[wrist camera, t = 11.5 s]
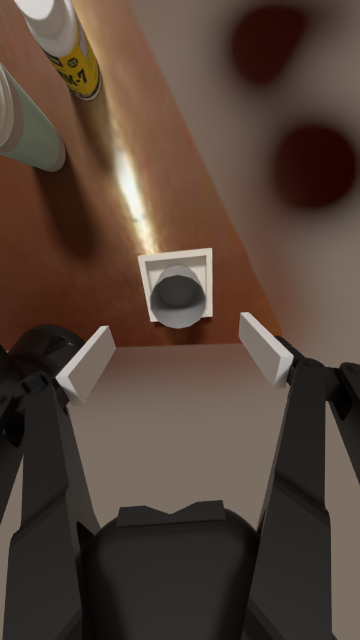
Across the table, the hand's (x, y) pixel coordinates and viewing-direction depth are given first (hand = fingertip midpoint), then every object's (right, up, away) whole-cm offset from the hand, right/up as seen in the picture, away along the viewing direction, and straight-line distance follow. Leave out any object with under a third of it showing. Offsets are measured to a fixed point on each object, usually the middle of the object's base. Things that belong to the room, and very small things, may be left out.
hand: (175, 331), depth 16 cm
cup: (0, +8, +16) cm, 18 cm away
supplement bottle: (-12, +33, +5) cm, 35 cm away
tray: (0, +8, +17) cm, 19 cm away
